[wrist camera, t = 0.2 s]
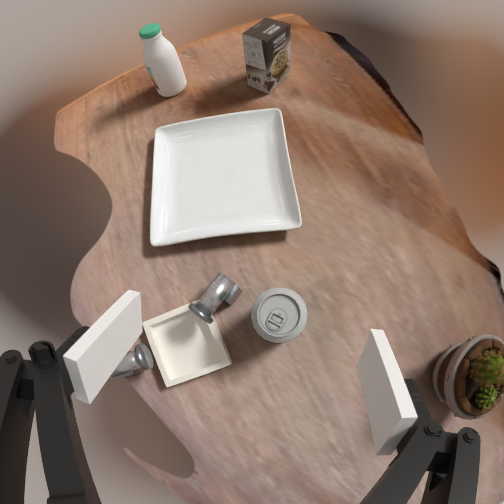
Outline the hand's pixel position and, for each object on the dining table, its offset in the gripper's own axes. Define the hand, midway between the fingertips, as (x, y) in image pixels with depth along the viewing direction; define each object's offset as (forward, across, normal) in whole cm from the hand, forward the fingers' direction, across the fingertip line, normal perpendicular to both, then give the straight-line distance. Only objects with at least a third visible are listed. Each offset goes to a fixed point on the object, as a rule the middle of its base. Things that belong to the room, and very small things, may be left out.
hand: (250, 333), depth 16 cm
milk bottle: (+60, +30, -23) cm, 71 cm away
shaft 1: (+25, +20, +28) cm, 42 cm away
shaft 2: (+32, +7, +16) cm, 36 cm away
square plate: (+46, +12, -3) cm, 47 cm away
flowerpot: (+25, -38, +23) cm, 51 cm away
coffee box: (+61, +6, -27) cm, 67 cm away
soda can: (+31, -3, +18) cm, 35 cm away
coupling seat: (+27, +12, +23) cm, 38 cm away
